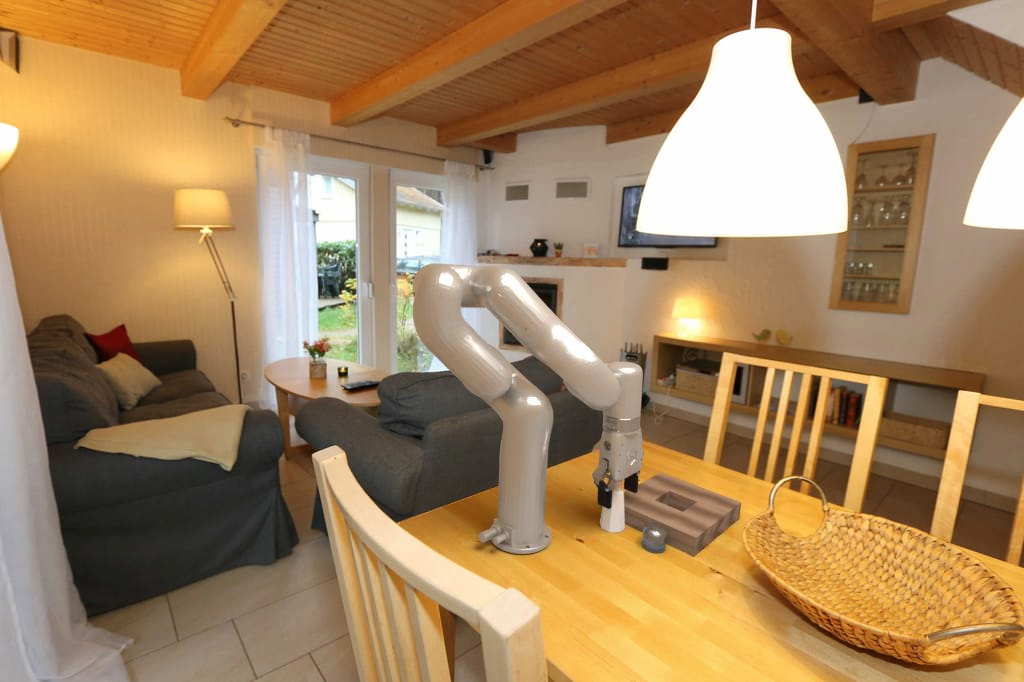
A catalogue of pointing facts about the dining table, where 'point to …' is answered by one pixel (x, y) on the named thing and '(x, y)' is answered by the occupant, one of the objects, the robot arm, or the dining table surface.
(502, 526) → the robot arm
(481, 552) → the dining table surface
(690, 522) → the socket plate
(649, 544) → the short stub
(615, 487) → the salt shaker
